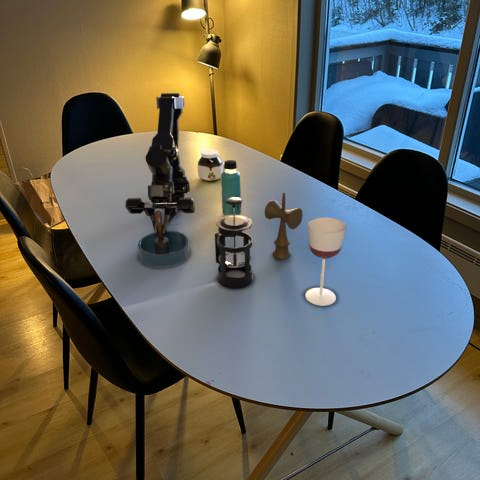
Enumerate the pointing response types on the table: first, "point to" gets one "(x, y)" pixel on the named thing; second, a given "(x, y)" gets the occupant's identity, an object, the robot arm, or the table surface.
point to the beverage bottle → (230, 187)
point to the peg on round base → (160, 237)
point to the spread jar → (210, 166)
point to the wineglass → (324, 252)
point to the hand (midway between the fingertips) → (159, 234)
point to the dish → (176, 255)
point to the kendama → (283, 225)
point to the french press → (233, 256)
